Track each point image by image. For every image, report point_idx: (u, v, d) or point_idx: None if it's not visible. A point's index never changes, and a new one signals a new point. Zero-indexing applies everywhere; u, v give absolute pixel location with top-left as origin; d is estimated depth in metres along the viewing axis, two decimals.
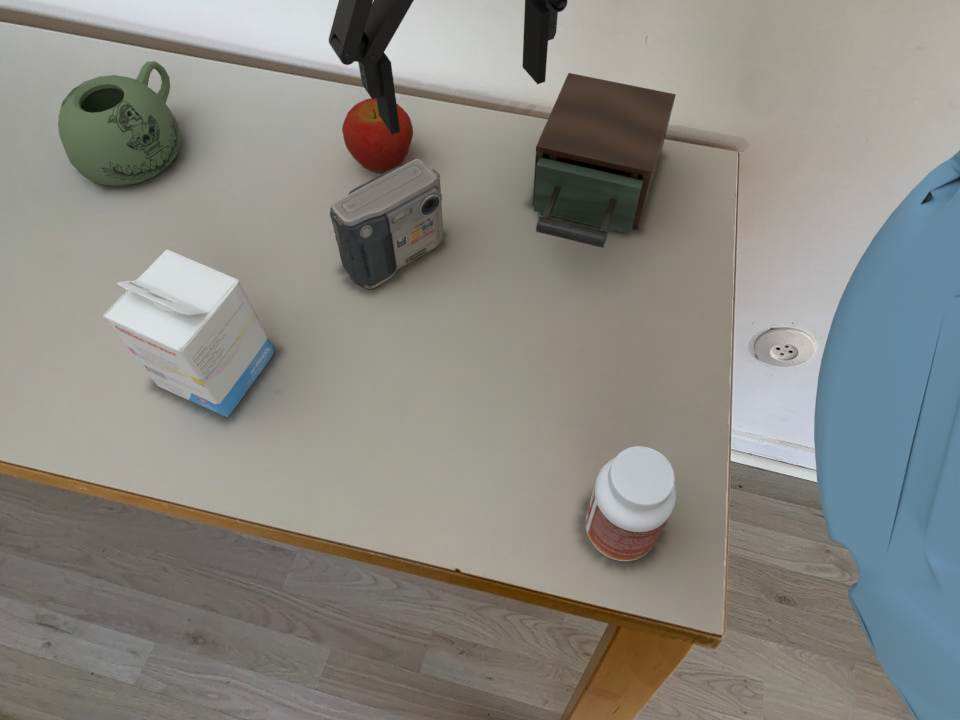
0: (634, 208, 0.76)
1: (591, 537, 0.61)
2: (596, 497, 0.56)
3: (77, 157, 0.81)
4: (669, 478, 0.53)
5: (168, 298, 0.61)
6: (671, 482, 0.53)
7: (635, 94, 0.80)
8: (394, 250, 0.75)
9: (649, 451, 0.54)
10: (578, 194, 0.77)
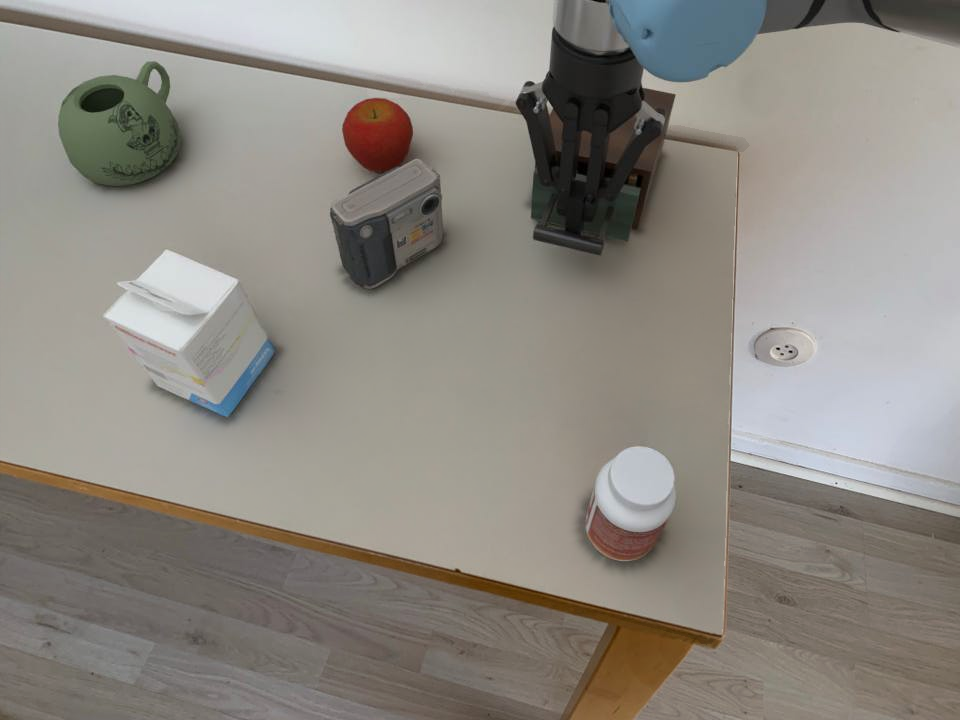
0: (632, 216, 0.75)
1: (591, 537, 0.61)
2: (596, 497, 0.56)
3: (77, 157, 0.81)
4: (669, 478, 0.53)
5: (168, 298, 0.61)
6: (671, 482, 0.53)
7: None
8: (394, 250, 0.75)
9: (649, 451, 0.54)
10: None
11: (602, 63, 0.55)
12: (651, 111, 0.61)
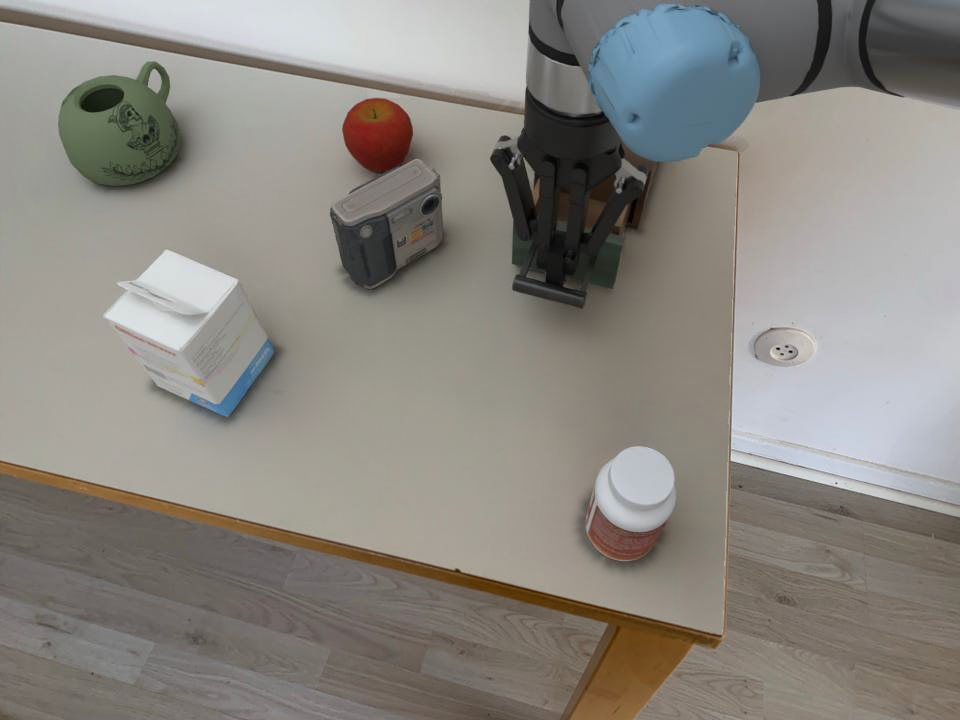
0: (616, 264, 0.72)
1: (591, 537, 0.61)
2: (596, 497, 0.56)
3: (77, 157, 0.81)
4: (669, 478, 0.53)
5: (168, 298, 0.61)
6: (671, 482, 0.53)
7: None
8: (394, 250, 0.75)
9: (649, 451, 0.54)
10: None
11: (578, 126, 0.51)
12: (632, 169, 0.57)
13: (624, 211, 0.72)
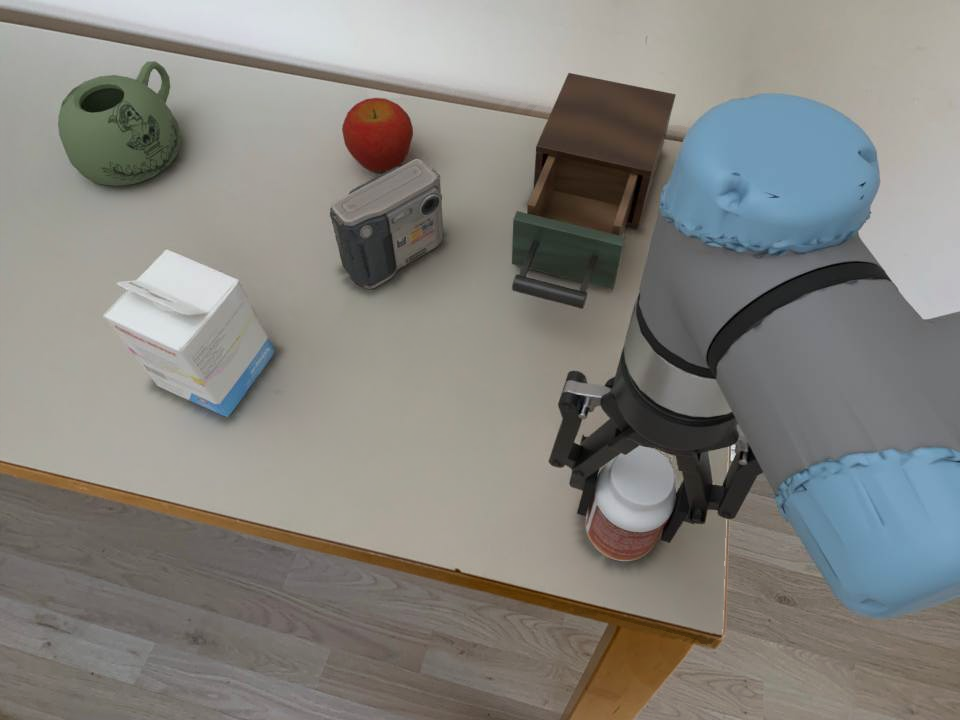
0: (616, 264, 0.72)
1: (591, 537, 0.61)
2: (596, 497, 0.56)
3: (77, 157, 0.81)
4: (669, 478, 0.53)
5: (168, 298, 0.61)
6: (671, 483, 0.53)
7: (635, 94, 0.80)
8: (394, 250, 0.75)
9: (649, 451, 0.54)
10: (557, 249, 0.73)
11: (696, 424, 0.39)
12: None
13: (624, 211, 0.72)
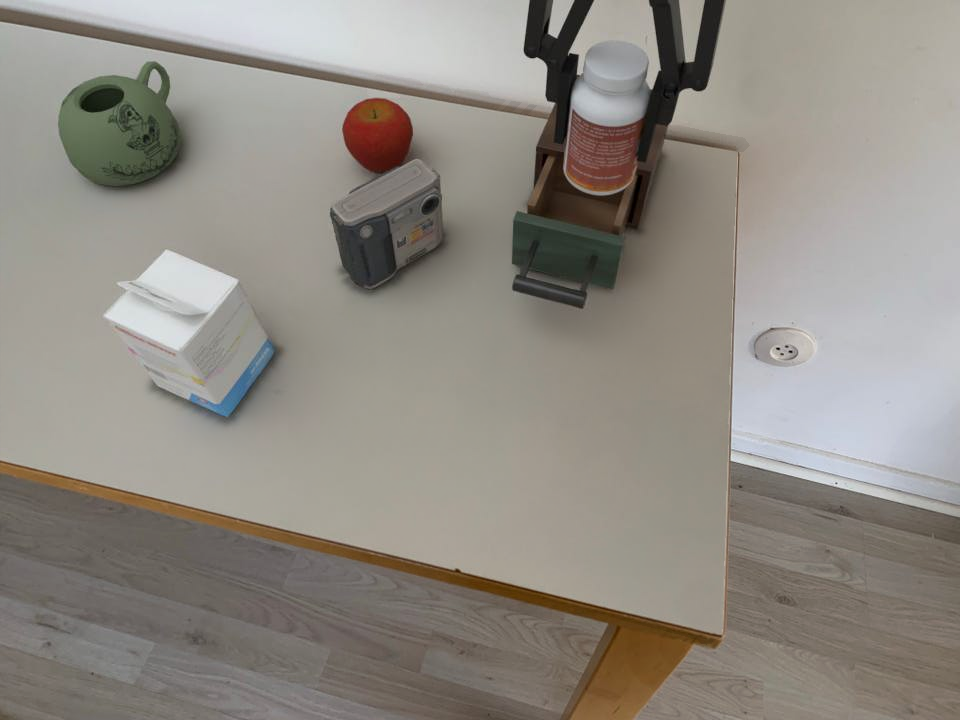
0: (616, 264, 0.72)
1: (568, 171, 0.61)
2: (572, 100, 0.56)
3: (77, 157, 0.81)
4: (643, 61, 0.53)
5: (168, 298, 0.61)
6: (644, 64, 0.53)
7: None
8: (394, 250, 0.75)
9: (624, 43, 0.54)
10: (557, 249, 0.73)
11: None
12: None
13: (624, 211, 0.72)
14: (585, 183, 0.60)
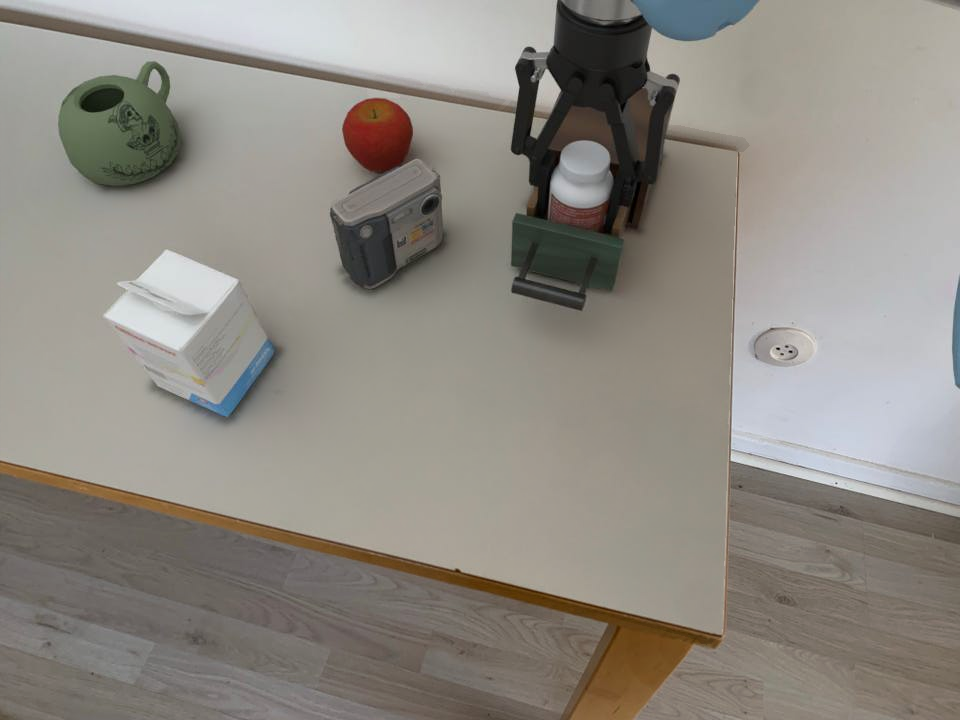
0: (616, 267, 0.72)
1: None
2: (551, 186, 0.71)
3: (77, 157, 0.81)
4: (606, 158, 0.68)
5: (168, 298, 0.61)
6: (607, 161, 0.68)
7: (635, 94, 0.80)
8: (394, 250, 0.75)
9: (591, 143, 0.69)
10: (556, 251, 0.73)
11: (608, 33, 0.54)
12: (660, 78, 0.59)
13: (623, 213, 0.72)
14: None
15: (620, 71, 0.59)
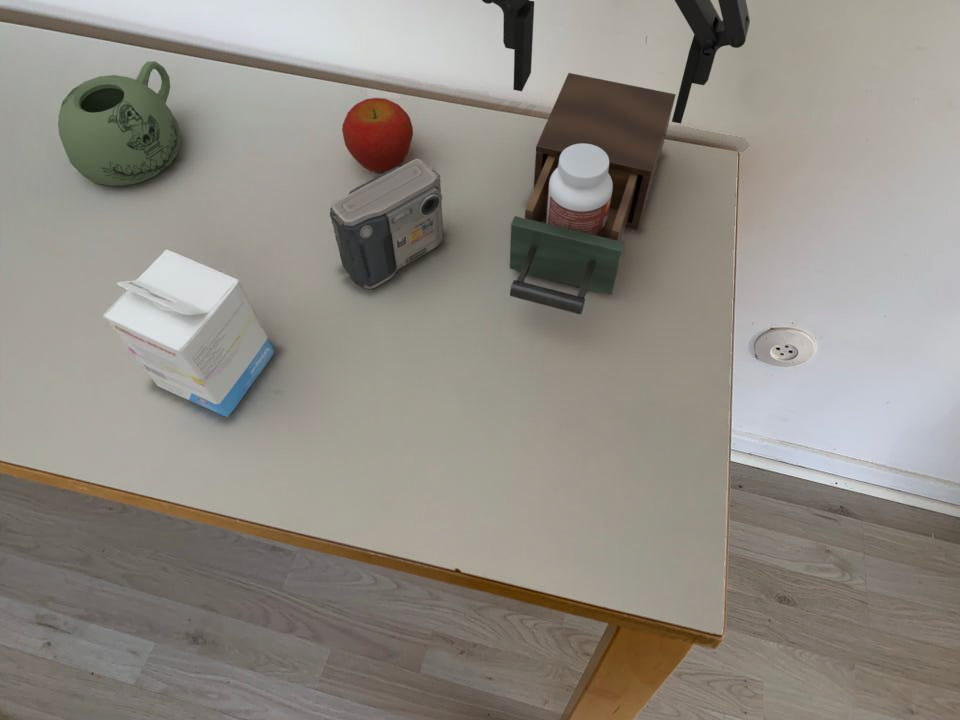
0: (614, 270, 0.71)
1: None
2: (549, 189, 0.70)
3: (77, 157, 0.81)
4: (605, 162, 0.68)
5: (168, 298, 0.61)
6: (606, 164, 0.68)
7: (635, 94, 0.80)
8: (394, 250, 0.75)
9: (590, 146, 0.69)
10: (555, 254, 0.72)
11: None
12: None
13: (622, 216, 0.72)
14: None
15: None
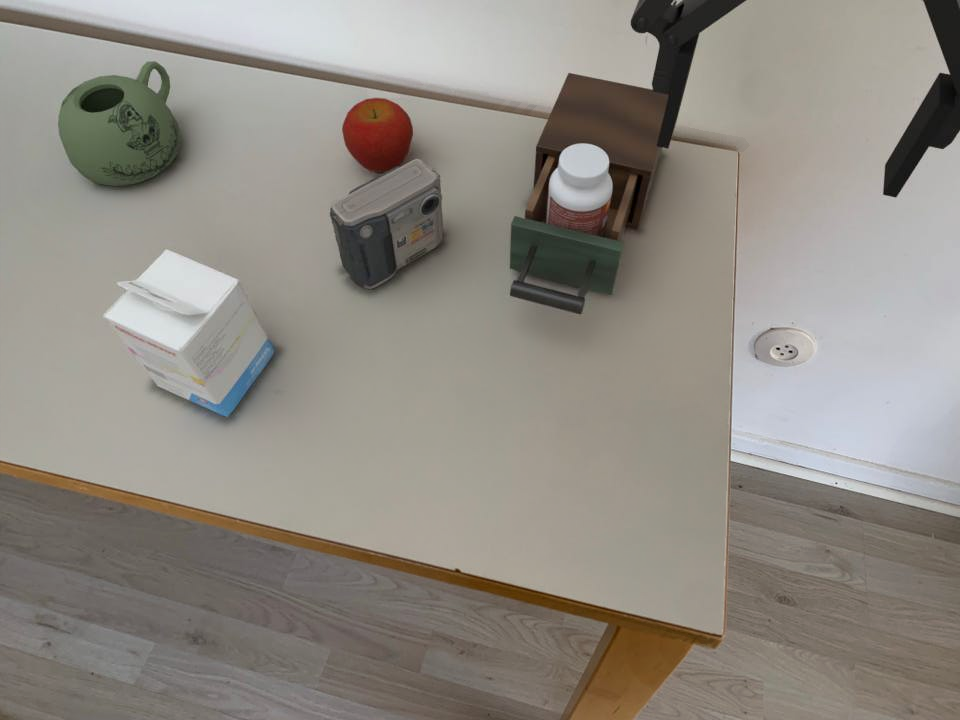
0: (614, 270, 0.71)
1: None
2: (549, 189, 0.70)
3: (77, 157, 0.81)
4: (605, 162, 0.68)
5: (168, 298, 0.61)
6: (606, 164, 0.68)
7: (635, 94, 0.80)
8: (394, 250, 0.75)
9: (590, 146, 0.69)
10: (555, 254, 0.72)
11: None
12: None
13: (622, 216, 0.72)
14: None
15: None
